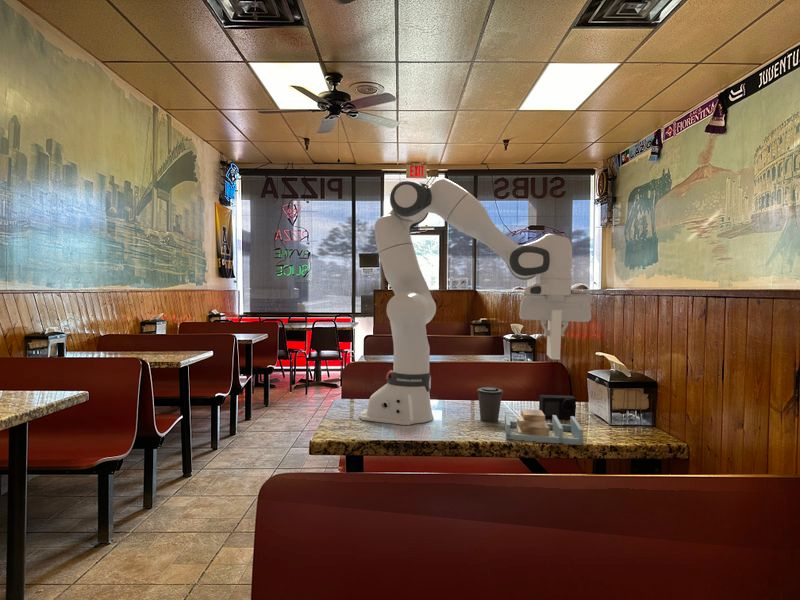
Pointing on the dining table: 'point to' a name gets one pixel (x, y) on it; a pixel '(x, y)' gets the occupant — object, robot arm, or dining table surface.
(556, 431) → the slotted rack
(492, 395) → the coffee cup
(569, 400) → the digital camera
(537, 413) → the offcut stack
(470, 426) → the dining table surface
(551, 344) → the white flat slab
